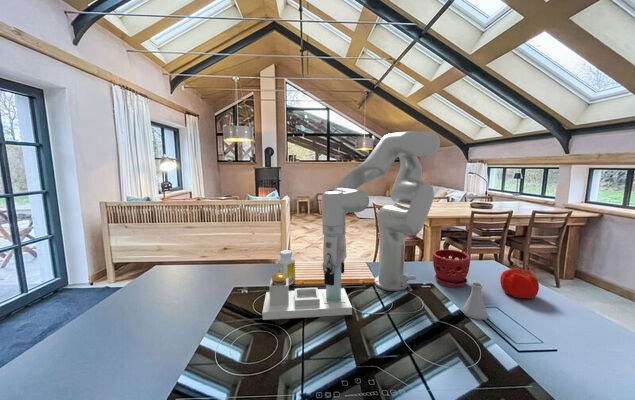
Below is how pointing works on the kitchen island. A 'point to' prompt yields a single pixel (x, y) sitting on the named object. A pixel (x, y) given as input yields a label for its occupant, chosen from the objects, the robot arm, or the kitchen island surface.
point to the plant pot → (451, 267)
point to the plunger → (279, 278)
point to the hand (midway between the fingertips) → (334, 278)
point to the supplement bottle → (287, 265)
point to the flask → (475, 303)
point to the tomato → (519, 283)
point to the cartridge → (334, 291)
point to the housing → (302, 303)
